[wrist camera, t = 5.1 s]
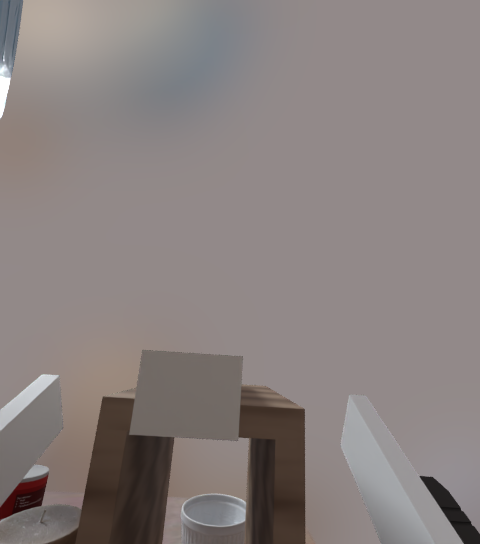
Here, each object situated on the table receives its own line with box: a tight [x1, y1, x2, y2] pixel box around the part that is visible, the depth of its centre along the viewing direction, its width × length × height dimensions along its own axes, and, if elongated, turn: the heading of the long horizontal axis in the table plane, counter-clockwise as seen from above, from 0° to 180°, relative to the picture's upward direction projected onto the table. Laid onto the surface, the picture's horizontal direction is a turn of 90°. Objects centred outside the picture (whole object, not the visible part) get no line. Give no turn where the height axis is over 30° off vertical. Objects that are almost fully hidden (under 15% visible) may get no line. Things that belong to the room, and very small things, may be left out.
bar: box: [129, 350, 243, 441], centre depth 25 cm, size 28×4×3 cm, turn 2°
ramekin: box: [181, 494, 246, 544], centre depth 54 cm, size 13×13×7 cm
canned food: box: [0, 465, 49, 521], centre depth 54 cm, size 8×8×11 cm
